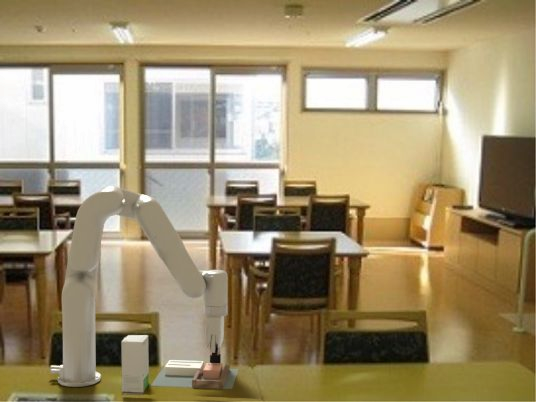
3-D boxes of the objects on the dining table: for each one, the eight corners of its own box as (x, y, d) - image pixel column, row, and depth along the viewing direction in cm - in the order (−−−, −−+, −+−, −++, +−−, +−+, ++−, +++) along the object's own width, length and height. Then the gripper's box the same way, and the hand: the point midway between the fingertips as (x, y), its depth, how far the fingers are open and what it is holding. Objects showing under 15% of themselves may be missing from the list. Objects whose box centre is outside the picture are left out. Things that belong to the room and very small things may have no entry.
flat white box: (164, 374, 214) (164, 366, 214) (169, 367, 221) (169, 359, 221) (200, 376, 213) (200, 367, 213) (203, 368, 220) (203, 360, 220)
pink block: (203, 378, 211) (203, 369, 211) (206, 370, 218) (206, 362, 218) (219, 378, 211) (219, 370, 211) (222, 371, 218) (222, 363, 218)
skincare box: (142, 396, 198) (142, 342, 197) (120, 395, 199) (119, 341, 198) (149, 385, 207) (149, 334, 206) (127, 385, 207) (127, 333, 206)
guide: (192, 386, 204) (192, 380, 203) (201, 368, 220) (201, 362, 220) (222, 387, 203) (222, 381, 203) (229, 369, 219) (229, 363, 219)
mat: (150, 389, 204) (150, 385, 204) (163, 369, 222) (163, 366, 222) (232, 392, 202) (232, 388, 202) (238, 372, 220) (238, 368, 220)
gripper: (207, 303, 226) (206, 359, 227) (199, 315, 211) (199, 374, 213) (230, 304, 226) (229, 359, 227) (224, 315, 211) (224, 374, 212)
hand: (215, 366), depth 220 cm, fingers closed
